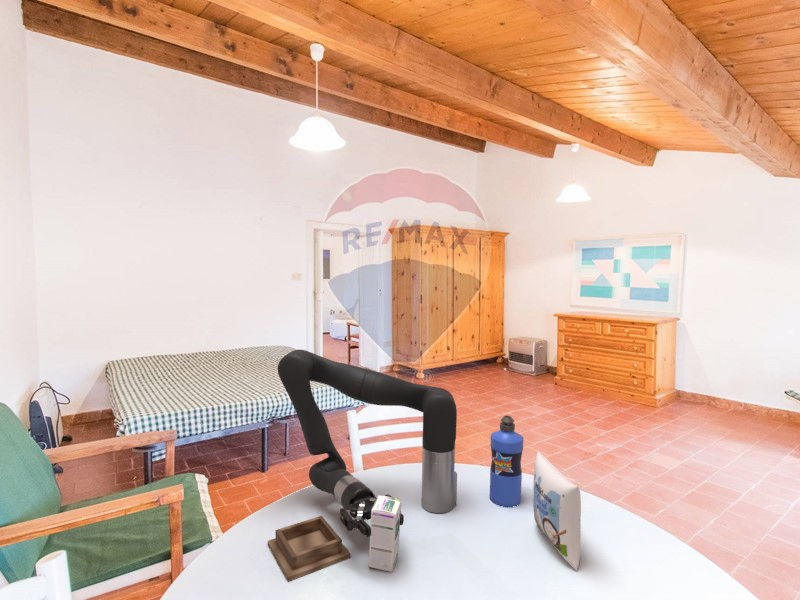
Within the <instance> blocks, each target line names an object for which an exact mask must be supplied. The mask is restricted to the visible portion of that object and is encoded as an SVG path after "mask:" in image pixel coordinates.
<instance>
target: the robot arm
mask: <svg viewBox="0 0 800 600" xmlns="http://www.w3.org/2000/svg"><path fill="white" fill-rule="evenodd" d="M277 373H278V374H277V375H278V376H279V380H280V382H281V383H282V386H283V387H284V389H285V391H286V393H287V395H288V397H289V399H290V401H291V403H292V406H293V408H294V411H295V413H296V416H297V418H298V422H299V424H300V428H301V430H302V434H303V437H304V441H305V444H306V447H307V451H308V453H309V454H310V455H312V456H320V455H325V454H327V456H326V457H325V458H323V459H322V460H320V461H317V462H315V463H314V464H312V466H310V469H309V471H308V478H309V481H310V483H311V485H312V486H314V487H315V488H316V489H317V490H319V491H321V492H325V493H327V494H331V495H332V496H333V497H334V498H335V499H336V501H337V502H338V504H339V505H340V506H341V507H342V508H340V509H339V520H340V522H341V524H342V525H343V526H344V527H345V528H346V530H347V531H348V532H352V531H354V529H355V530H356V531H359V532H360V533H361V534H362V535H363V536H366V537H367V538H370V536H371V525H370V524H369V523H367V522H366V521H365V520H367V521H369V520H371V510H372V508H373V506H374V503H375V501H376V500H377V498H378V497H376V495H375V493H374V491H372V490H371V488H369V487H368V486H367V485H366V484H365V483H363V482H362V481H361V480H360V479H358V478H356V477H355V476H354V475H353V474H351V473H350V472H349V471H348V470H347V465H346V462H345V460H344V458H343V457H342V456H341V454H340V453H339V452H338V450H337V447H336V446H335V444H334V443H333V440H332V437H331V434H330V429H329V427H328V424H327V422H326V421H327V420H326V418H325V417H324V415H323V413H322V411H321V409H320V407H319V405H318V404H317V402H316V400H315V396H314V395H313V391H312V387H311V382H314V383H317V384H318V383H320V384H322V385H323V384H324V385H327V386H328V387H331V388H333V389H334V390H336V391H337V392H339V393H341V394H343V395H345V396H347V397H349V398H350V399H353V400H356V401H359V402H362V403H366V404H370V405H375V406H385V407H386V406H387V407H388V406H391V407H392V406H394V407H397V406H398V407H406V408H409V409H413V410H416V411H419V412H421V413H422V440H421V441H422V443H421V444H422V450H421V451H422V454H421V455H422V457H421V460H422V461H421V506H422V509H424V510H425V511H427V512H430V513H434V514H443V513H444V514H445V513H449V512H450V511H452V510H453V509H454V507H456V506H457V500H458V499H457V495H458V494H457V493H458V492H457V489H458V488H457V486H458V472H456V471H455V463H456V462H455V461H456V460H455V459H456V457H455V455H456V439H457V422H458V421H457V418H458V417H457V416H458V415H457V414H458V412H457V410H458V409H457V405H456V402H455V398H454V396H453V395H452V394H451V392H450V391H448V390H447V389H445V388H442V387H440V386H439V387H437V386H432V385H431V386H430V385H425V384H419V383H414V382H410V381H407V380H404V379H402V378H398V377H396V376H395V377H394V376H392V375H389V374H385V373H382V372H379V371H376V370H373V369H368V368H366V367H365V368H364V367H359V366H357V365H356V366H355V365H352V364H349V363H343V362H339V361H334V360H331V359H329V358H326V357H323V356H322V355H321V356H320V355H319V354H316V353H313V352H311V351H308V350H306V349H294V350H291V351H290V352H288V353H287V354H285V355H284V356H283V357H282V358H281V359H280V360H279V362H278V365H277ZM384 496H388V497H393V496H391V494H387V493H386V494H385V495H384ZM404 516H405V515H404V514H403V513H402V512H401V514H400V526H403V525H404V521H405V520H404V518H405V517H404ZM353 518H354V519H353Z"/></svg>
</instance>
